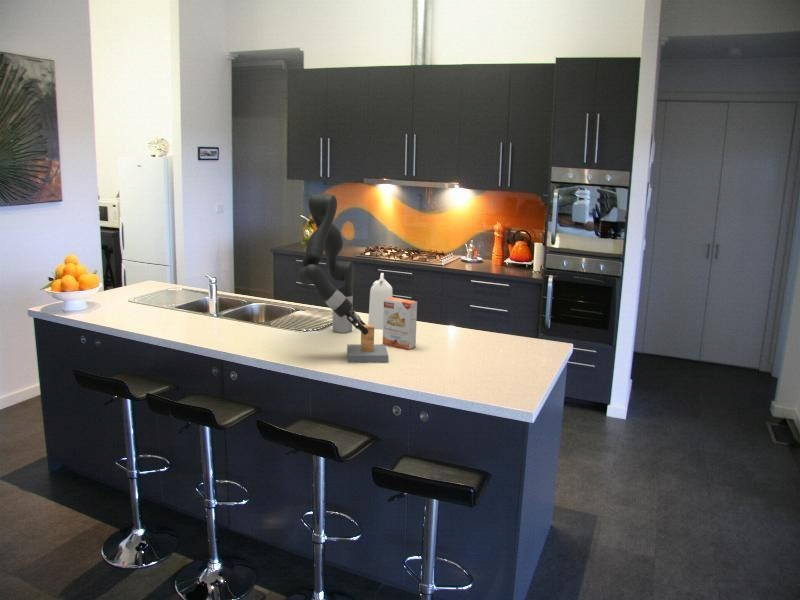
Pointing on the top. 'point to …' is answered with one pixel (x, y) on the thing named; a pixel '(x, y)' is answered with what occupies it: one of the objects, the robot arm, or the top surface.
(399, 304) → the cracker box
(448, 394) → the top surface
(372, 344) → the orange block
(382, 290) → the milk
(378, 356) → the grey plinth
